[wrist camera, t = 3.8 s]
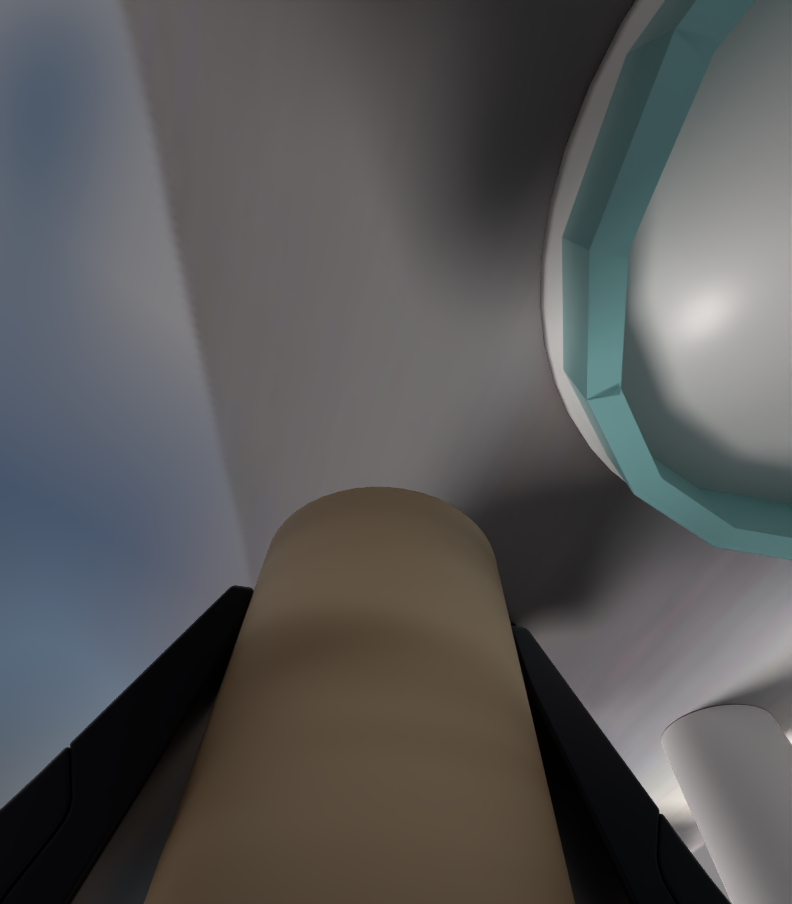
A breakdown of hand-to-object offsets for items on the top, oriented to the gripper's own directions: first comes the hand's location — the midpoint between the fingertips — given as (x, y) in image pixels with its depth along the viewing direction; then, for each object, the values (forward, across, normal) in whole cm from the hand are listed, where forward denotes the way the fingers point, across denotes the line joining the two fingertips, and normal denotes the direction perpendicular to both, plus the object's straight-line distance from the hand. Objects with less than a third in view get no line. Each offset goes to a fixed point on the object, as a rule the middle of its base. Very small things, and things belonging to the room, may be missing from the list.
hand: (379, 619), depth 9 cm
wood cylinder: (+1, 0, 0) cm, 1 cm away
